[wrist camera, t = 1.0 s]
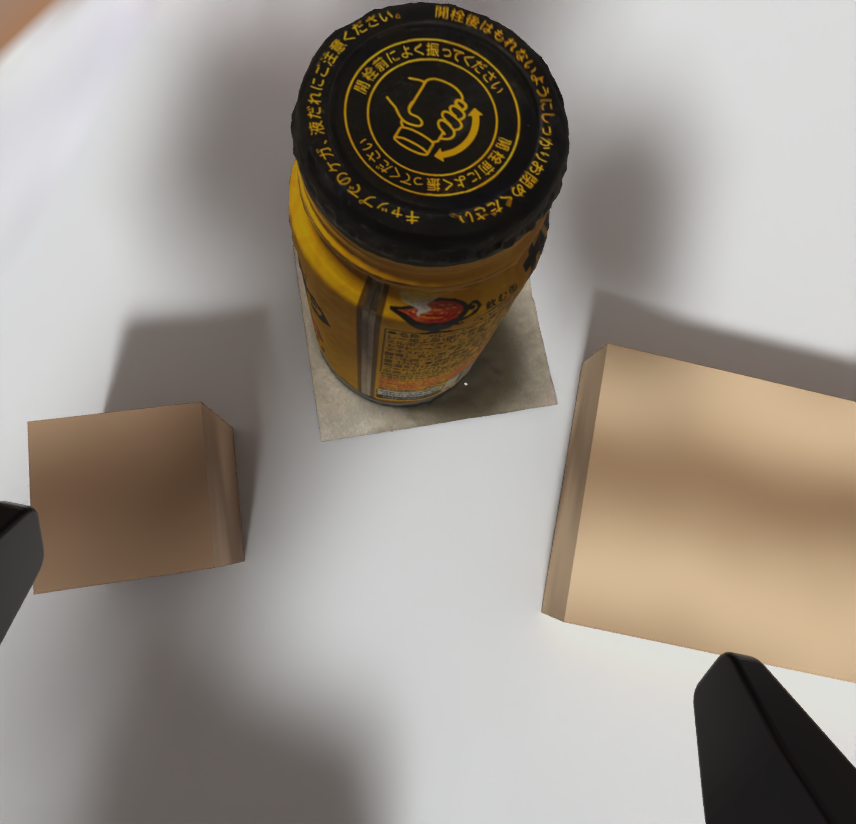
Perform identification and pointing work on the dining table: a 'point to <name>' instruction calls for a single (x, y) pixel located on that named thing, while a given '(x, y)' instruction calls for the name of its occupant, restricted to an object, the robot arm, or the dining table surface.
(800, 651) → the foundation
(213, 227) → the dining table surface
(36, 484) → the block
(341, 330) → the condiment
